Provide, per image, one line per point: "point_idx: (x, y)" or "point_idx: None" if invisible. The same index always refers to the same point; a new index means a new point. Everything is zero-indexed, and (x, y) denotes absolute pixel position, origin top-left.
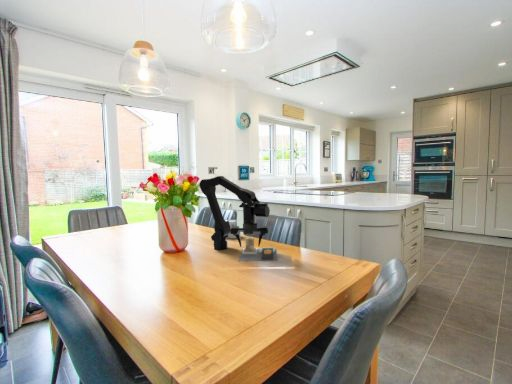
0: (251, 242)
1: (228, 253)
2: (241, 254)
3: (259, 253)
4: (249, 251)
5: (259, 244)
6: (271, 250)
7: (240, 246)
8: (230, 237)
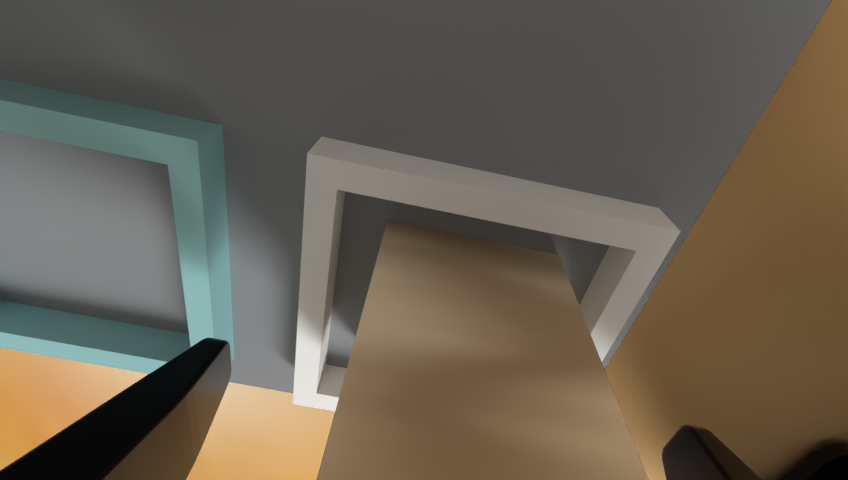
0: (413, 461)
1: (813, 379)
2: (686, 195)
3: (259, 160)
4: (483, 259)
5: (157, 373)
6: (27, 278)
7: (707, 433)
8: None
